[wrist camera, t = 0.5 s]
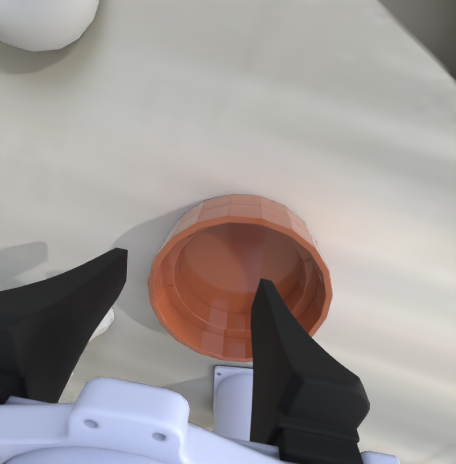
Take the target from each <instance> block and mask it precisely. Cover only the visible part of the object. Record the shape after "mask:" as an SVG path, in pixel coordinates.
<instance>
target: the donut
mask: <svg viewBox="0 0 456 464" xmlns="http://www.w3.org/2000/svg"><path fill="white" fill-rule="evenodd" d="M99 1H100V0H0V41H1V42H3V43H6V44H8V45H11V46H15V47H18V48H22V49H25V50H29V51H46V50H58V49H61V48H63V47H65V46H66V45H68V44H70V43H72V42H74V41H76V40H77V39H79V38H80V36H81V35H82V34H83V33H84V31H85V30H86V29H87V27H88V26H89V25H90V23H91V22H92V21H93V19H94V17H95V14H96V11H97V7H98V4H99Z"/></svg>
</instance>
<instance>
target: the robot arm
mask: <svg viewBox="0 0 456 464" xmlns="http://www.w3.org/2000/svg"><path fill="white" fill-rule="evenodd" d="M127 253H128V250H125V249H120V248H114V249H112V250H110V251H108V252H106V253H105V254H103V255H101V256H99V257H97V258H95V259H93V260H91V261H89V262H87V263H85V264H83V265H81V266H78V267H76V268H74V269H72V270H69V271H67V272H65V273H62V274H60V275H57V276H54V277H51V278H49V279H46V280H43V281H39V282H36V283H32V284H29V285H25V286H22V287H18V288H13V289H9V290H4V291H0V464H400V462H399V460H398V458H397V457H396V456H393V455H387V454H382V453H377V452H372V451H364V452H361V453H360V452H359V449H358V446H357V443H358V442H359V435H358V432H357V428H358V426H359V425H360V424H361V422H362V421H363V420H364V418H365V417H366V416H367V414H368V412H369V410H370V402H369V400H368V397H367V395H366V392H365V389H364V387H363V385H362V383H361V380H360V378H359V377H358V376H356V375H355V374H354V373H352V372H351V371H350V370H348V369H347V368H345V367H344V366H343V365H341V364H340V363H339V362H338V361H336V360H335V359H334V358H333V357H332V356H330V355H329V354H328V353H327V352H326V351H325V350H324V349H323V348H322V347H321V346H320V345H318V344H317V343H316V342H315V341H314V340H313V339H312V337H311V336H310V335H309V334H308V333H307V332H306V331H305V330H304V328H303V327H302V326H301V325H300V324H299V322H298V321H297V320H296V318H295V317H294V316H293V314H292V313H291V311H290V310H289V308H288V307H287V305H286V304H285V302H284V301H283V299H282V297H281V296H280V294H279V292H278V290H277V289H276V287H275V285H274V283H273V282H272V280H267V279H262V278H261V279H260V282H259V285H258V288H257V291H256V294H255V297H254V301H253V304H252V307H251V322H250V326H251V342H252V357H253V369H249V368H238V367H227V366H216V367H215V370H214V398H213V416H214V424H213V432H211V431H209V430H207V429H204V428H202V427H199V426H197V425H195V424H192V423H190V422H188V416H189V411H190V410H189V404H188V401H187V400H186V399H185V398H184V397H183V396H182V395H181V394H179V393H178V392H175V391H172V390H170V389H166V388H161V387H156V386H151V385H146V384H141V383H136V382H131V381H125V380H120V379H115V378H107V377H98V378H95V379H93V380H91V381H88V382H87V383H86V384H85V386H84V388H83V390H82V392H81V393H80V395H79V397H78V399H77V400H76V402H75V403H58V400H59V398H60V396H61V394H62V392H63V390H64V388H65V386H66V384H67V382H68V380H69V378H70V376H71V374H72V372H73V370H74V368H75V366H76V364H77V362H78V360H79V358H80V356H81V354H82V353H83V351H84V349H85V347H86V345H87V343H88V342H89V340H90V338H91V336H92V335H93V333H94V332H95V330H96V329H97V327H98V326H99V324H100V323H101V321H102V320H103V318H104V317H105V316H106V314H107V313H108V311H109V310H110V308H111V307H112V305H113V304H114V302H115V301H116V299H117V298H118V296H119V294H120V293H121V291H122V289H123V287H124V284H125V282H126V275H127Z"/></svg>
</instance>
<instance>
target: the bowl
mask: <svg viewBox="0 0 456 464" xmlns="http://www.w3.org/2000/svg"><path fill="white" fill-rule="evenodd" d="M261 278H262V279H267V280H272V282H273V283H274V285H275V287H276V289H277V290H278V292H279V294H280V296H281V297H282V299H283V301H284V302H285V304H286V305H287V307H288V308H289V310H290V311H291V313H292V314H293V316H294V317H295V318H296V320H297V321H298V322H299V324H300V325H301V326H302V327H303V328H304V330H305V331H306V332H307V333H308V334H309V335H310V336H311V337H312V336H314V334H315V333H316V331H317V330H318V329H319V327H320V326H321V325H322V323H323V322H324V321H325V319H326V318H327V314H328V311H329V307H330V303H331V300H332V295H333V293H332V286H331V279H330V272H329V269H328V267H327V265H326V263H325V261H324V258H323V256H322V254H321V252H320V250H319V248H318V245H317V243H316V241H315V239H314V238H313V236H312V234H311V233H310V231H309V229H308V227H307V226H306V224H305V222H304V221H303V220H301V219H300V218H299V217H298V216H297V215H295V214H294V213H293V212H292V211H291V210H289V209H288V208H287V207H286V206H284V205H282V204H279V203H277V202H274V201H272V200H269V199H266V198H264V197H261V196H254V195H239V194H232V195H231V194H230V195H226V196H222V197H218V198H213V199H209V200H206V201H204V202H202V203H200V204H199V205H197V206H195V207H194V208H192V209H191V210H189V211H187V212H186V213H185V214H183V216H182V217H181V218H180V219H179V221H178V222H177V223H176V224H175V226H174V227H173V228H172V230H171V231H170V232H169V234H168V236H167V238H166V239H165V241H164V243H163V245H162V246H161V248H160V250H159V252H158V253H157V255H156V257H155V259H154V262H153V265H152V269H151V272H150V275H149V279H148V286H149V296H150V303H151V306H152V308H153V310H154V312H155V314H156V316H157V318H158V320H159V322H160V324H161V325H162V326H163V327H164V328H165V329H166V330H167V331H168V332H169V333H170V334H171V335H172V336H173V337H174V338H175V339H176V340H177V341H178V342H180V343H182V344H183V345H185V346H187V347H189V348H190V349H192V350H194V351H195V352H198V353H200V354H203V355H206V356H209V357H213V358H216V359H219V360H225V361H237V362H252V361H253V357H252V342H251V326H250V322H251V307H252V304H253V301H254V297H255V294H256V291H257V288H258V285H259V282H260V279H261Z"/></svg>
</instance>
